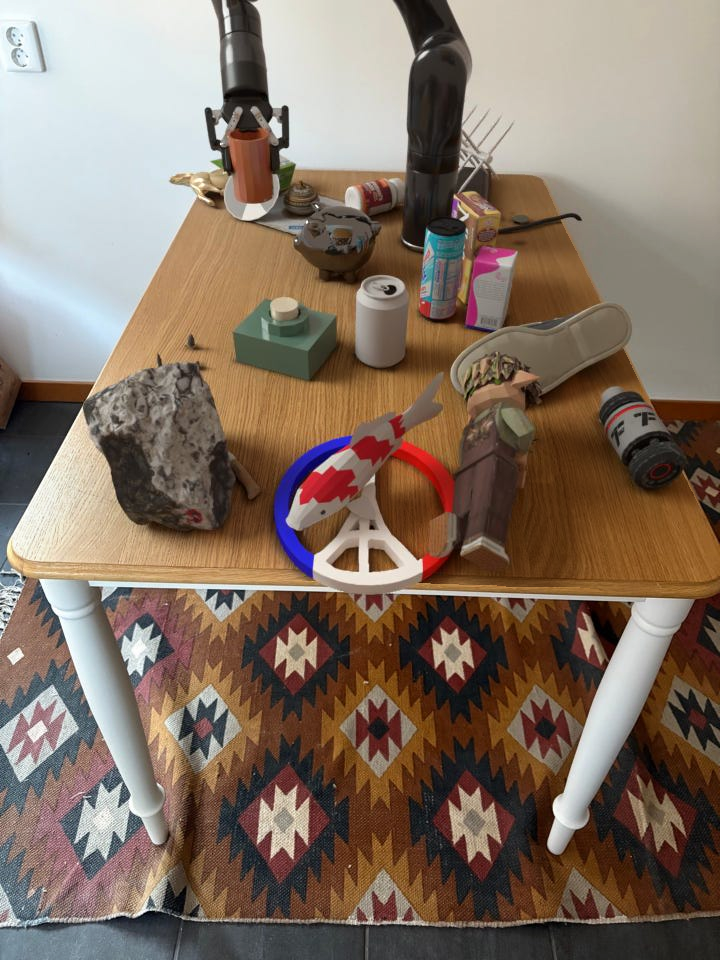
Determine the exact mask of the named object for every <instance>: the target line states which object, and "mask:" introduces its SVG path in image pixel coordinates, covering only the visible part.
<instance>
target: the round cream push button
mask: <svg viewBox="0 0 720 960" xmlns="http://www.w3.org/2000/svg"><path fill="white" fill-rule="evenodd" d="M272 300H273V301H272V302H271V303H270V309H271V317H272V318H273V319H274V320H278V321H291V320H294V319H296V318H298V316H299V309H298V302H299V301H297V299H295V298H293V297H288V296H282V297H281V296H280V297H277V298H275V299H272Z"/></svg>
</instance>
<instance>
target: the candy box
mask: <svg viewBox="0 0 720 960" xmlns="http://www.w3.org/2000/svg"><path fill="white" fill-rule="evenodd" d="M501 216H502V212H500V211H499V210H498V209H497V208H496V207H495V206H493V205H492V204H491V203H490V201H489V202H487V201H486V200H485V199H484V198H482V197H481V196H480V195H479V194H478V193H476V192H474V191H470V192H463V193H458V194H454V199H453V207H452V215H451V217H453V218H457V219H459V220H461V221H463V222H464V223H465V224H466V234H465V242H464V249H463V257H462V264H461V272H460V279H459V286H458V293H457V298H458V299H459V300H460V301H461V302H462V303H463V305H468V303H469V296H470V289H471V282H472V275H473V268H474V261H475V259H476V257H477V255H478V254H479V252H480V250H481V247H482V246H488V247H495V248H496V243H497V237H498V235H499V234H498V229H500V228H499V227H500V222H501Z"/></svg>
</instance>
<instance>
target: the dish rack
mask: <svg viewBox="0 0 720 960" xmlns="http://www.w3.org/2000/svg"><path fill="white" fill-rule="evenodd" d="M466 100H467V98H465V101H464V103H465V102H466ZM479 103H480V101H479V102H477V103H476V104H475V105H474V106H473V107H472V108H471V109H470V111H469V112H468V114H467V115H466V116H465V117H464V119H462V127H463V126H464V125H465V124H466V123H467V121H468V120H469V118H470V117H471V116H472V114H473V113H474V112H475V110H476V109H477V106H478V105H479ZM490 110H491V108H489V109H487V111H486V112H485V113H483V115H482V116H481V117H480V118H479V119H478V121H477V123H475V125H474V126H473V128H472V129H471V130H470V131H469V133H467V132H466V131H465V130H464V129H463V128H462V133H463V137H464V138H463V137H462V145H461V153H460V160H462V161H463V162H462V164H461V165H459V166H460V168H459V170H458V174H459V173H460V171H461V170H462V169H463V167H466V166H467V163H468V162H469V163H470V164H471V165H472V167H476V169H475V170H474V171H473V173H472V174H471V175H470V176H469V178H468V179H467V180H466V182H465V183H464V184H463V186H462V187H461V188H460V190H459V192H458V193H460V192H461V191H462V190H463V189H464V188H465V187H466V185H467V184H468V183H469V182H470V180H471V179H472V178H473V176H474V175H475V174H476V173H477V171H478V170H479V169H480V168H481V169H482V170H483V171H484V172H485V173H487V171H486V169H485V168H488V169H489V170H490V172H491V175H493V177H494V179H496V180H497V181H500V178H499V177H498V176H499V175H498V174H497V173H496V171H495V170H494V169H493V168H492V166H491V163H492V162H493V159H494V157H493V155H492V153H493V152H494V151H495V149H496V148H497V147H498V146H499V144H500V143H502V140H503V139H504V138H505V137H506V135H507V134H508V133H509V132H510V130H511V129H512V127H513V125H514V123H515V121H516V119H514V120H513V121H512V122H511V123H509V125H508V126H507V127H506V128H505V130H504V131H503V132H502V134H500V136H499V137H498V139H497V140H496V141H495V143H494V144H493V145H492V147H491V148H490V149H489V151H488V152H486V151H483V150H482V149H479V148H480V147H481V145H482V144H483V143H484V141H485V140H486V139H487V137H488V136H489V135H490V134H491V132H492V131H493V130H494V128H495V127H496V126H497V125H498V124H499V121H500V120H501V118H502V116H503V114H501V115H500V116H499V117H497V118H496V120H495V121H494V122H493V123H492V124H491V125H490V127H489V129H488V130H487V131H485V134H484V135H483V136H482V137H481V139H480V140H479V141H478V143H477V144H476V145H475V143H474V142H473V140H472V139H471V137H472V136H473V134H475V132H476V130H477V129H478V128H479V126H480V125H481V124H482V122H483V121H484V120H485V118H486V117H487V116H488V114H489V111H490ZM464 156H465V158H464ZM472 158H473V159H474V161H475V162H476V163H477V166H476V163H475V162H474V161H473V159H472ZM484 165H485V166H484ZM487 174H488V173H487Z"/></svg>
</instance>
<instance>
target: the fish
mask: <svg viewBox="0 0 720 960" xmlns="http://www.w3.org/2000/svg"><path fill="white" fill-rule="evenodd" d="M443 379H444V371H441V372H440V373H438V374H436V375H435V376H434V378H433V379H432V380H431V381H430V382H429V383H428V385H427V386H426V387H425V388H424V390H423V391H422V392H421V393H420V395H419V396H418V397H417V398H416V399H415V401H414V402H413V403H412V404H411V405H410V407H409V408H407V410H405V411H404V412H402V413H401V414H398V415H397V411H396V410H395V411H390V412H386V413H383V414H381V415H380V416H378V417H376V418H375V419H373V420H371V421H369V422H366V421H365V422H364V421H362V422H361V423H360V424H359V425H357V427H356V428H355V430H354V432H353V434H352V435H353V436H352V435H351V436H352V439H351V441H350V444H349V445H347V446H346V447H344V448H343V449H341V450H340V451H338V452H337V453H335V454H334V455H332V456H331V457H330V458H328V459H327V460H326V461H325V462H324V463H322V464H320V465H319V466H317V467H315V468H314V469H313V470H312V471H311V473H309V474H308V476H307V478H306V479H305V481H303V483H302V484H301V485H300V486H299V488H297V490H296V491H295V492H296V493H295V495H294V498H293V500H292V504H291V506H290V507H291V508H290V509H289V515H288V517H287V518H286V522H287V524H288V526H289V527H291V528H293V530H296V531H303V530H304V531H303V536H305V534H306V529H307V528H309V527H310V526H312V525H314V524H317V523H319V522H321V521H323V520H325V519H327V518H328V517H330V516H332V515H333V514H336V513H337V512H339V511H341V510H342V509H343V508H344V507H346V508H347V509H348V510H349V511H350V512H351V511H352V512H353V513H355V514H356V515H358V516H360V517H362V518H365V519H371V520H375V516H376V514H375V510H374V508H373V506H372V504H371V502H370V500H369V498H368V497H366V496H362V497H361V496H360V497H358V498H356V499H354V497H356V496H357V495H358V493H359V492H361V491H362V490H363V487H364V486H365V485H366V484H367V483H368V482H369V481H370V479H371V478H372V477H373V476H374V474H375V475H376V473H377V472H378V471H379V470H380V468H381V467H382V466H383V465H384V464H385V462H387V460H388V459H389V458H390V457H391V456H390V455H391V454H393V453H394V452H395V451H396V450H397V449H399V448H400V447H401V445H402V441H404V438H403V437H404V436H405V435H406V434H407V433H408V432H409V431H411V430H413V428H415V427H417V426H419V425H421V424H424V423H426V422H428V421H430V420H432V419H434V418H436V417H438V416H439V415H440V414H441V412H442V411H443V410H444V405H443V403H442V402H438V401H434V399H435V397H436V395H437V393H438V391H439V389H440V387H441V384H442V381H443Z"/></svg>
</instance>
